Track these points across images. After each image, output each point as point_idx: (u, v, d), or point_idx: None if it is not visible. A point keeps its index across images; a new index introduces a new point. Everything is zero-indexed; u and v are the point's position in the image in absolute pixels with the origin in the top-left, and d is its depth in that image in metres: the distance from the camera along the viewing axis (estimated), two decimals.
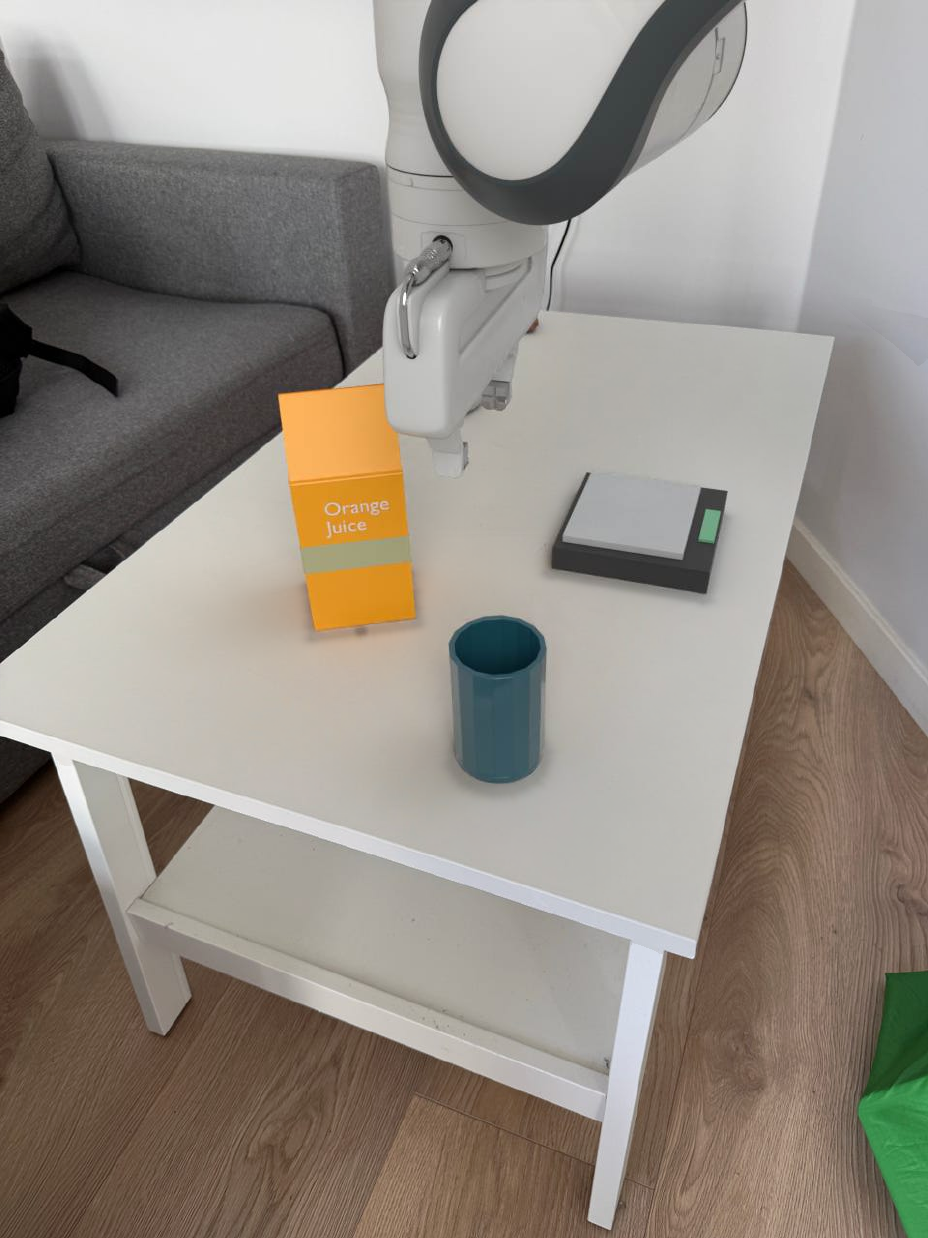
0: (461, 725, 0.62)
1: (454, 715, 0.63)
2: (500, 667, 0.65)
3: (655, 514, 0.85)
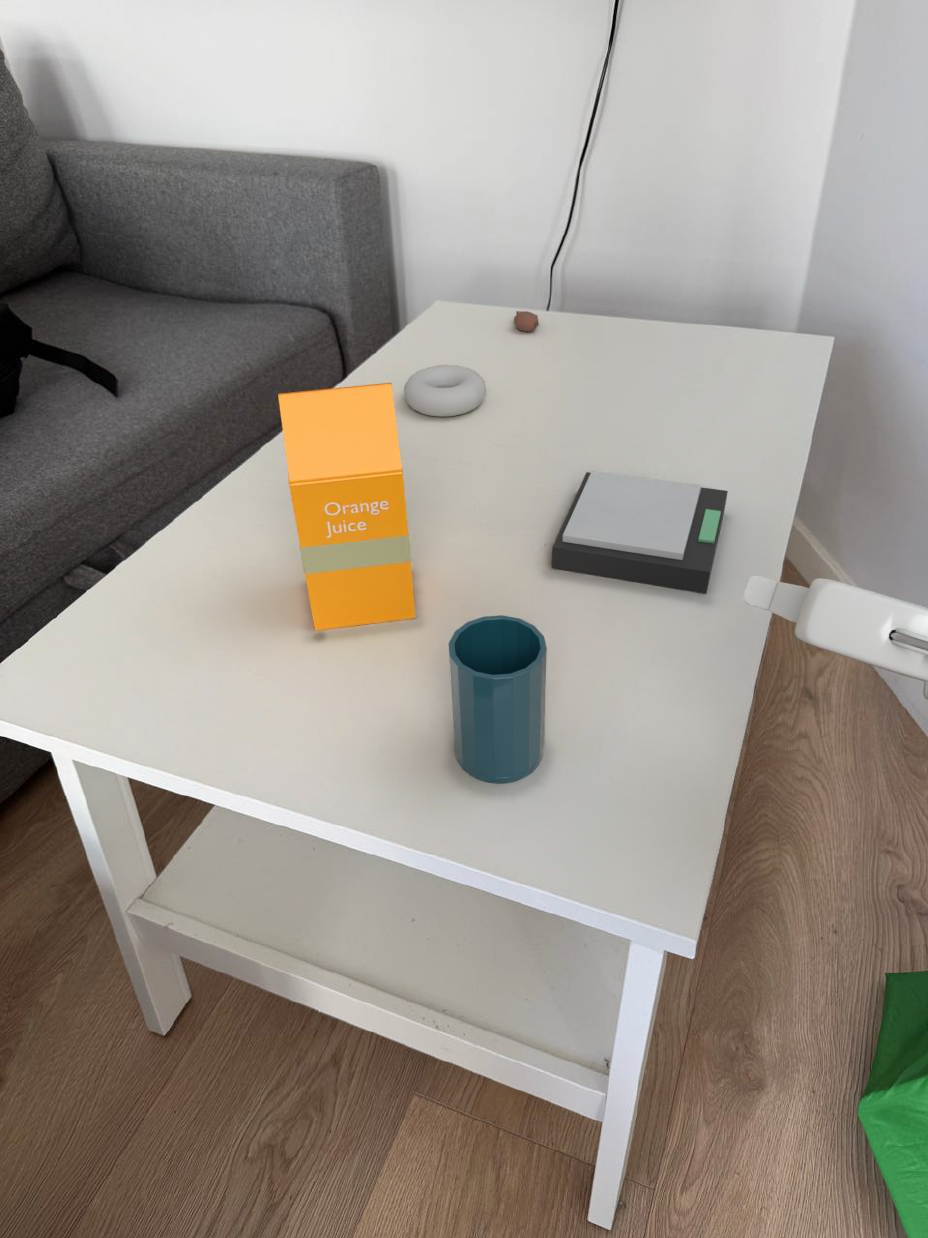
0: (461, 725, 0.62)
1: (454, 715, 0.63)
2: (500, 667, 0.65)
3: (655, 514, 0.85)
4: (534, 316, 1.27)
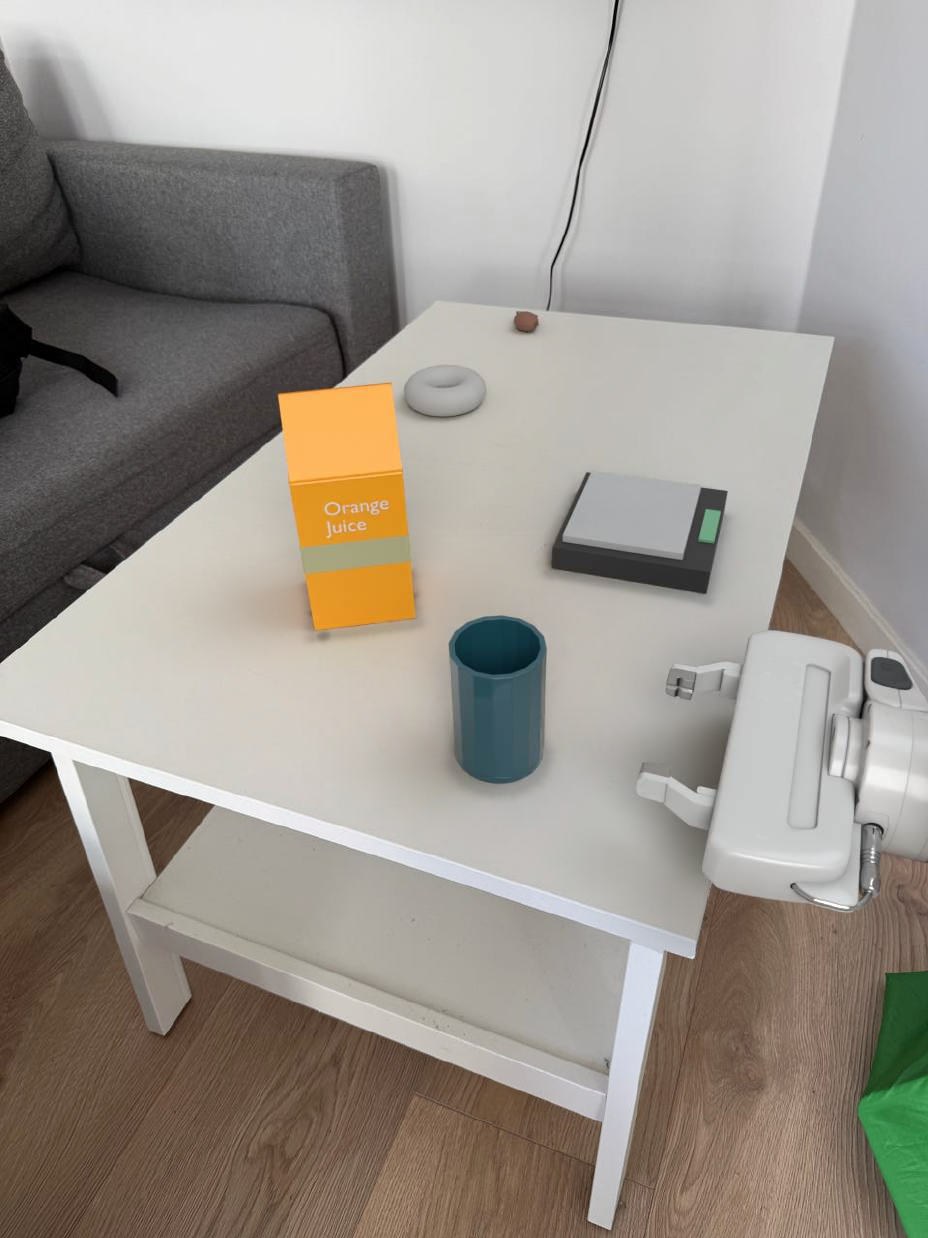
0: (461, 725, 0.62)
1: (454, 715, 0.63)
2: (500, 667, 0.65)
3: (655, 514, 0.85)
4: (534, 316, 1.27)
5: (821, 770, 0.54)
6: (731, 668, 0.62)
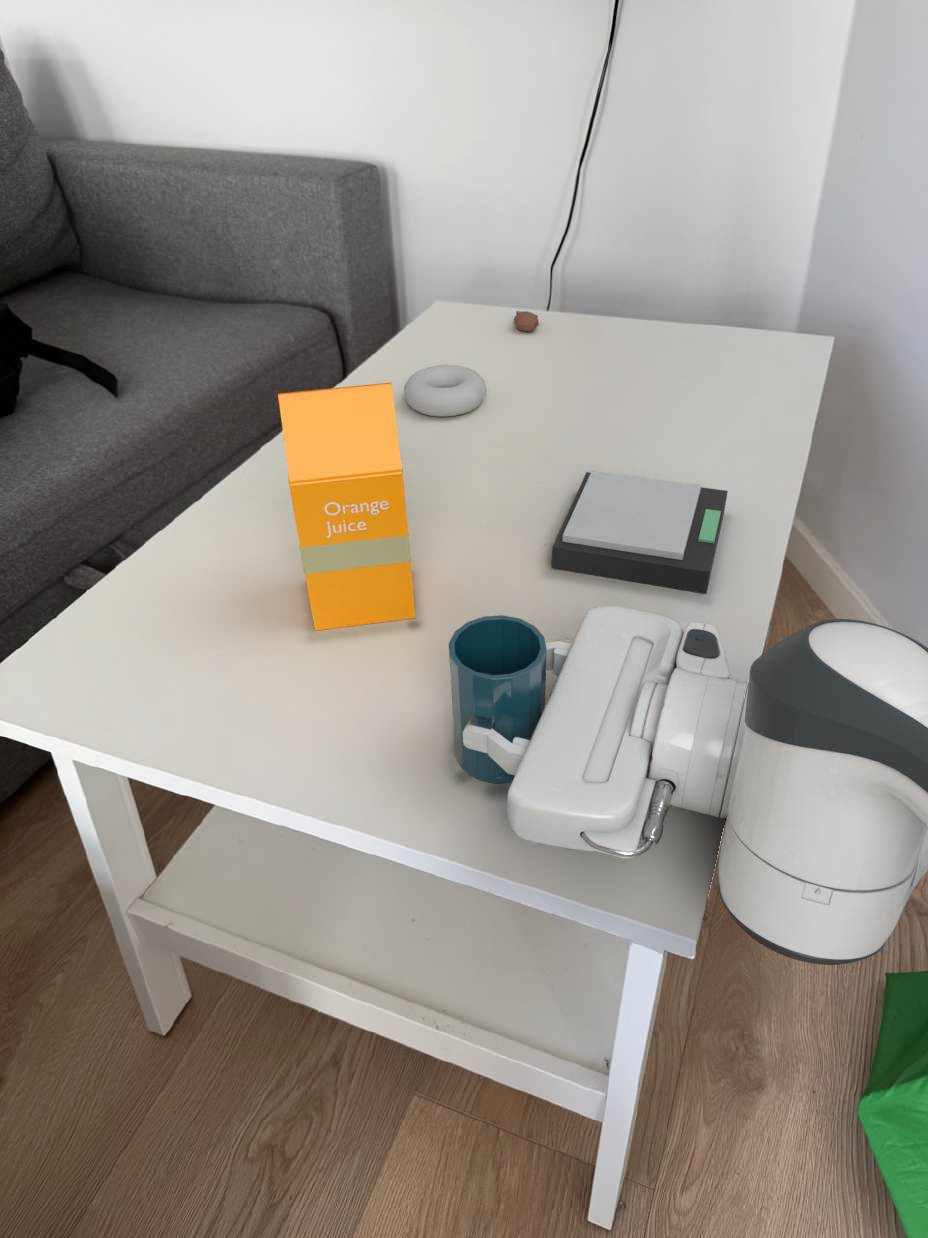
0: (461, 725, 0.62)
1: (454, 715, 0.63)
2: (500, 667, 0.65)
3: (655, 514, 0.85)
4: (534, 316, 1.27)
5: (624, 731, 0.58)
6: (562, 647, 0.65)
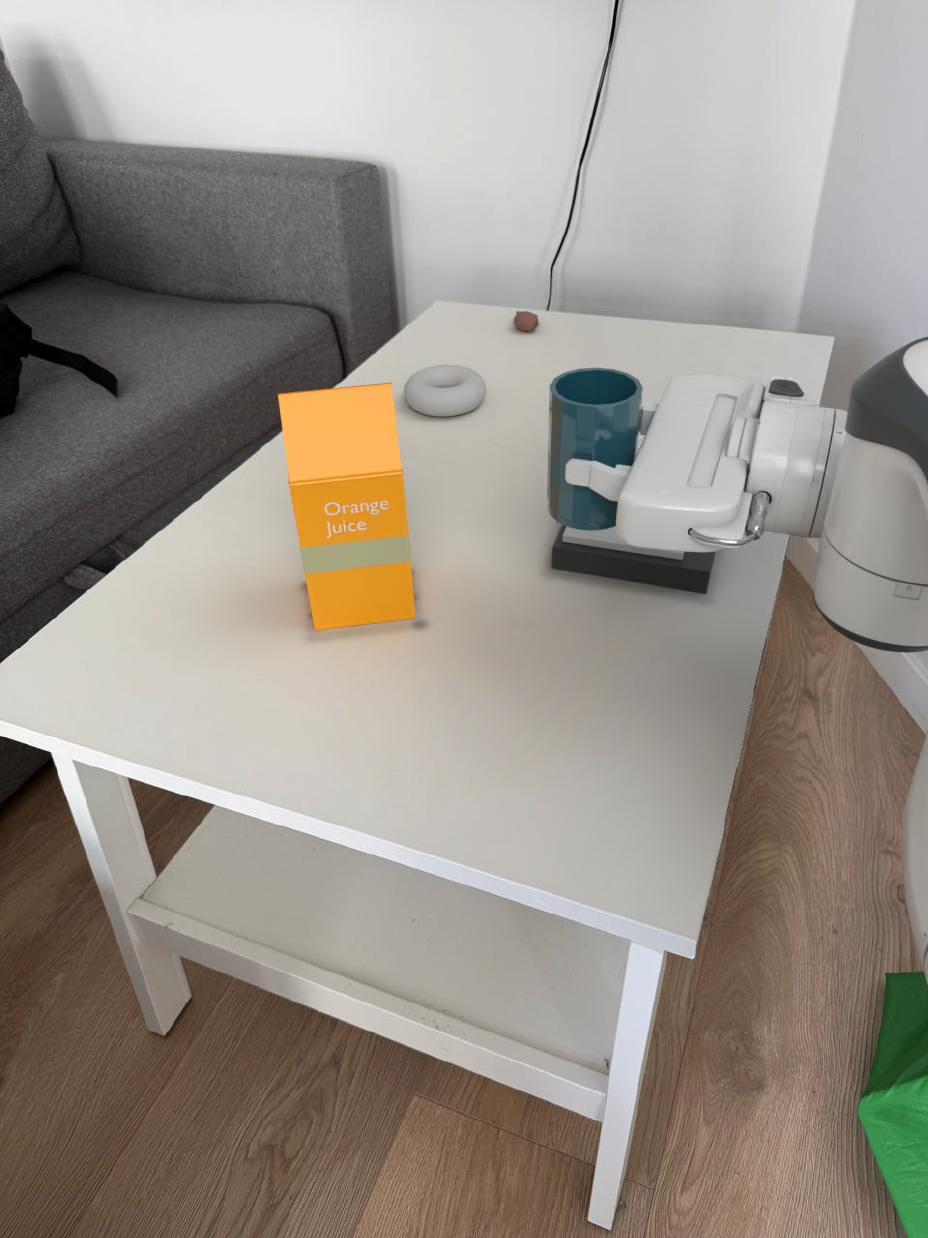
0: (560, 469, 0.66)
1: (552, 462, 0.67)
2: None
3: None
4: (534, 316, 1.27)
5: (720, 455, 0.62)
6: (649, 406, 0.69)
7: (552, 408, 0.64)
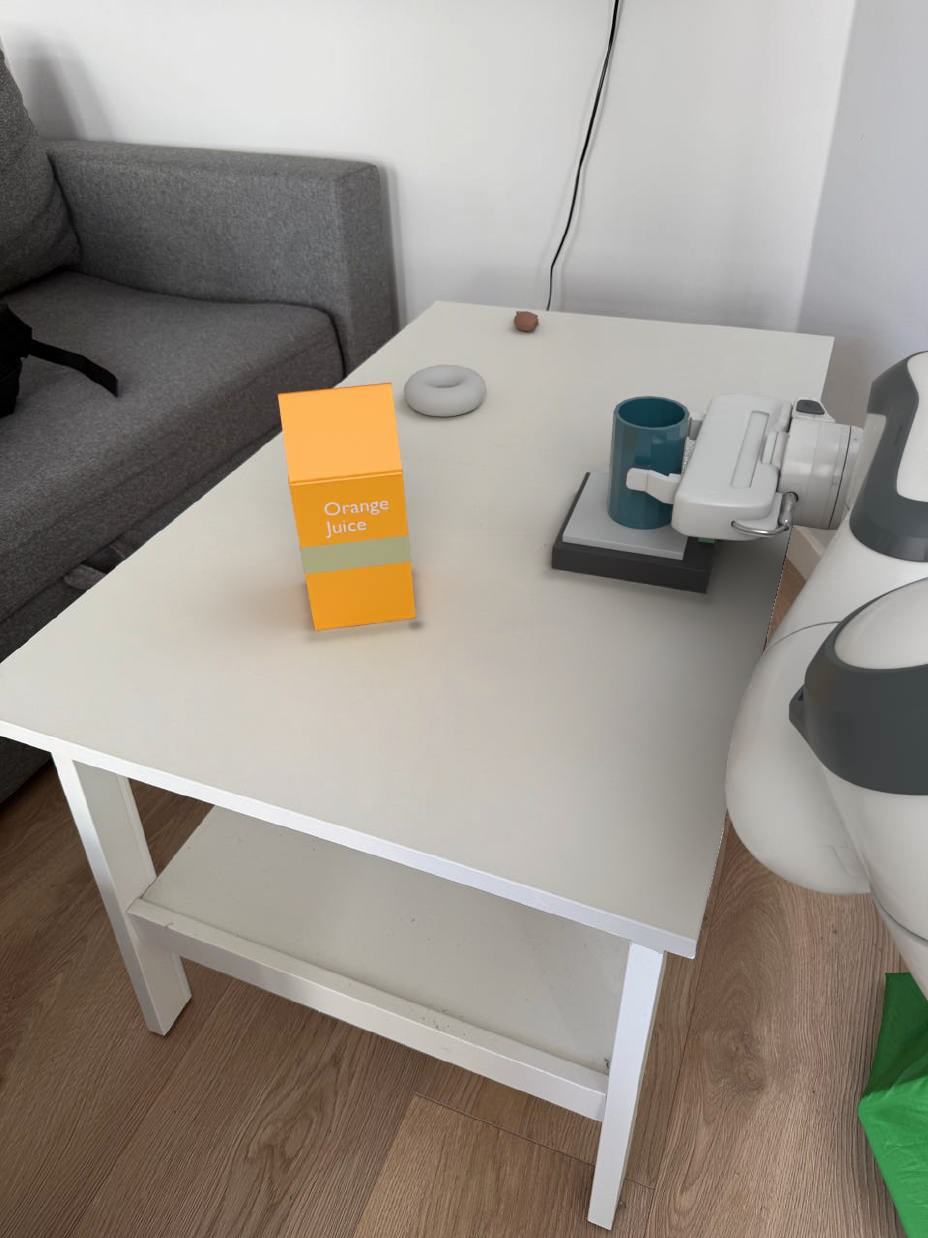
0: (620, 479, 0.81)
1: (613, 473, 0.81)
2: None
3: None
4: (534, 316, 1.27)
5: (756, 462, 0.76)
6: (697, 416, 0.84)
7: (615, 429, 0.79)
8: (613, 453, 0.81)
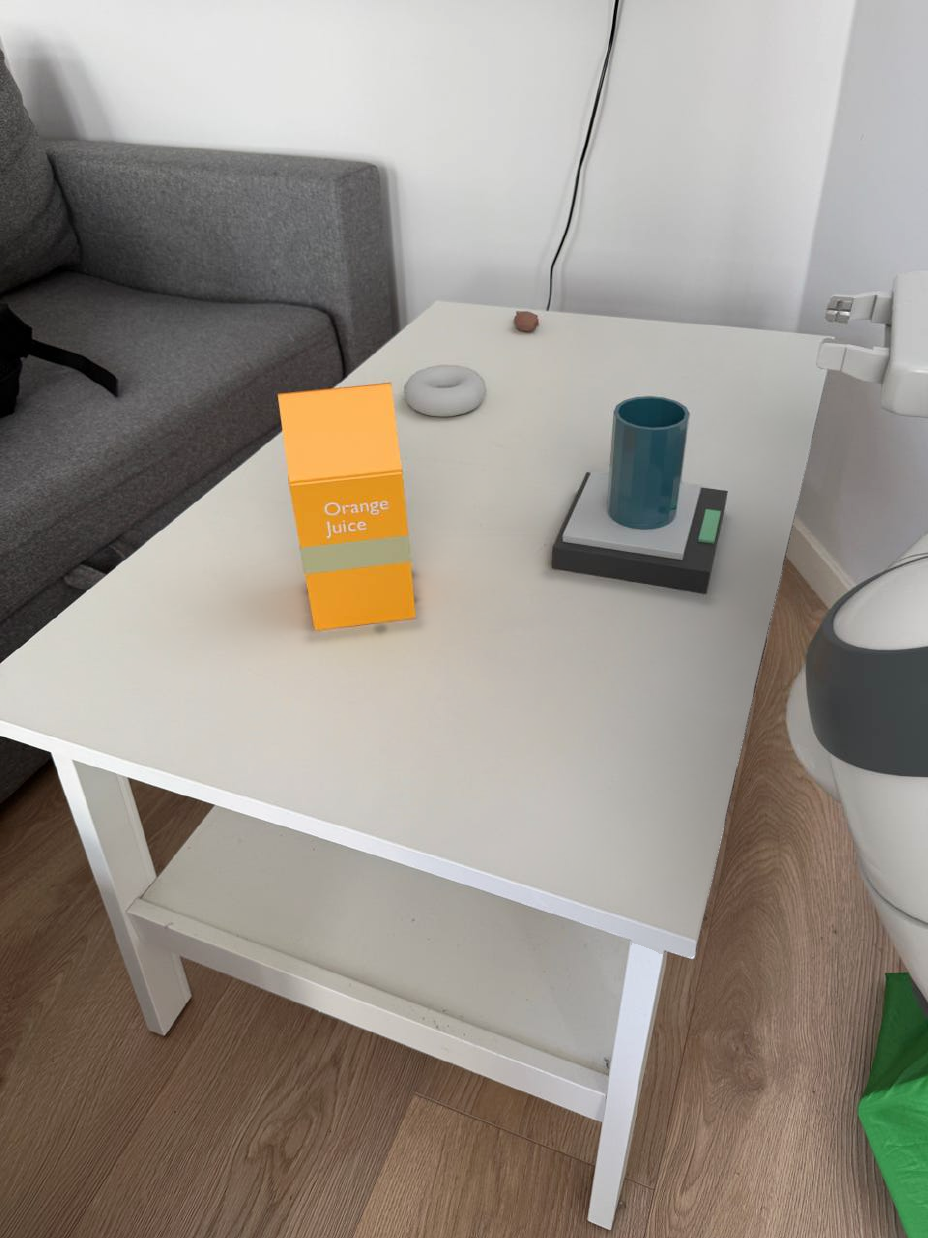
0: (620, 479, 0.81)
1: (613, 473, 0.81)
2: None
3: None
4: (534, 316, 1.27)
5: None
6: (883, 293, 0.72)
7: (615, 429, 0.79)
8: (613, 453, 0.81)
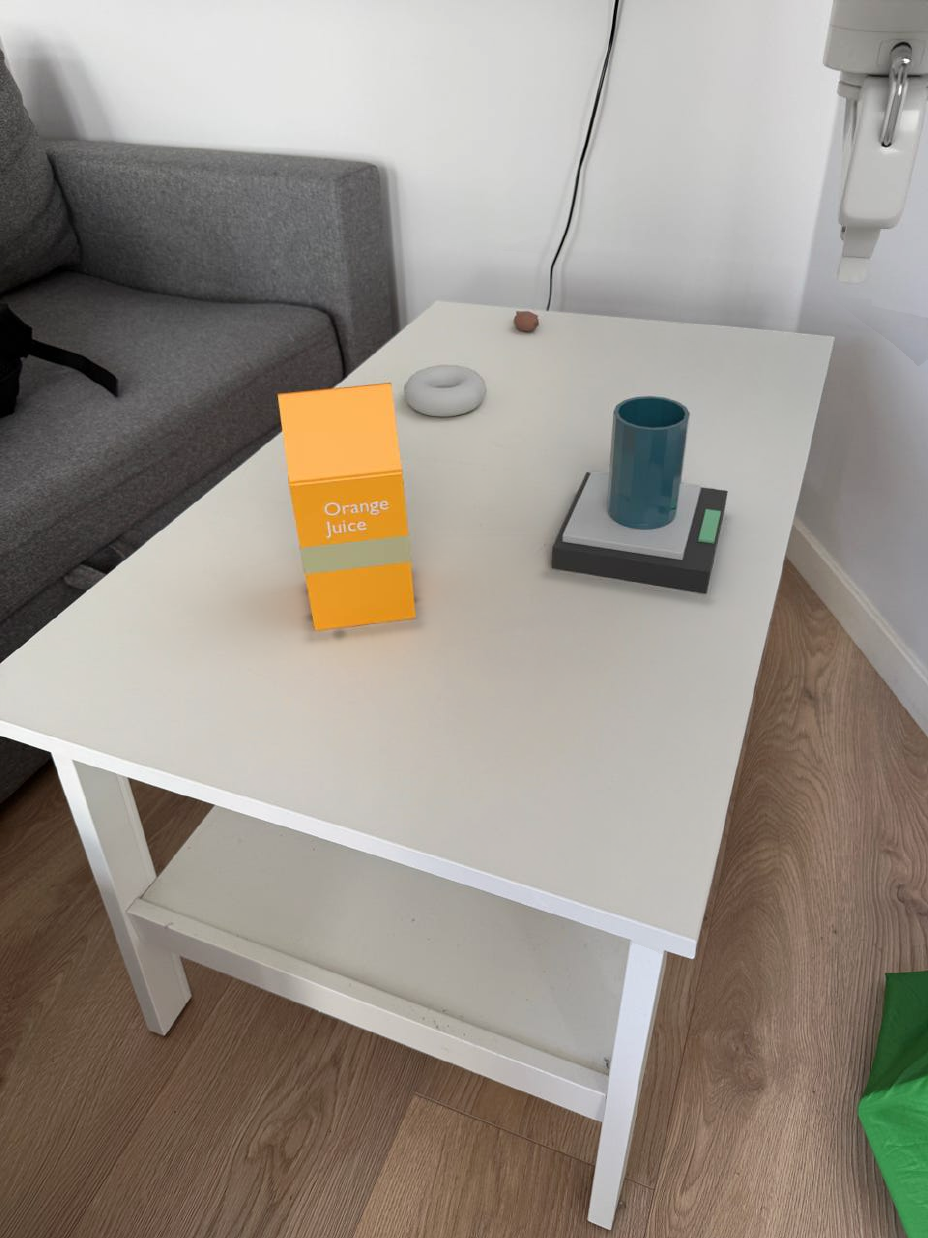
0: (620, 479, 0.81)
1: (613, 473, 0.81)
2: None
3: None
4: (534, 316, 1.27)
5: None
6: None
7: (615, 429, 0.79)
8: (613, 453, 0.81)
